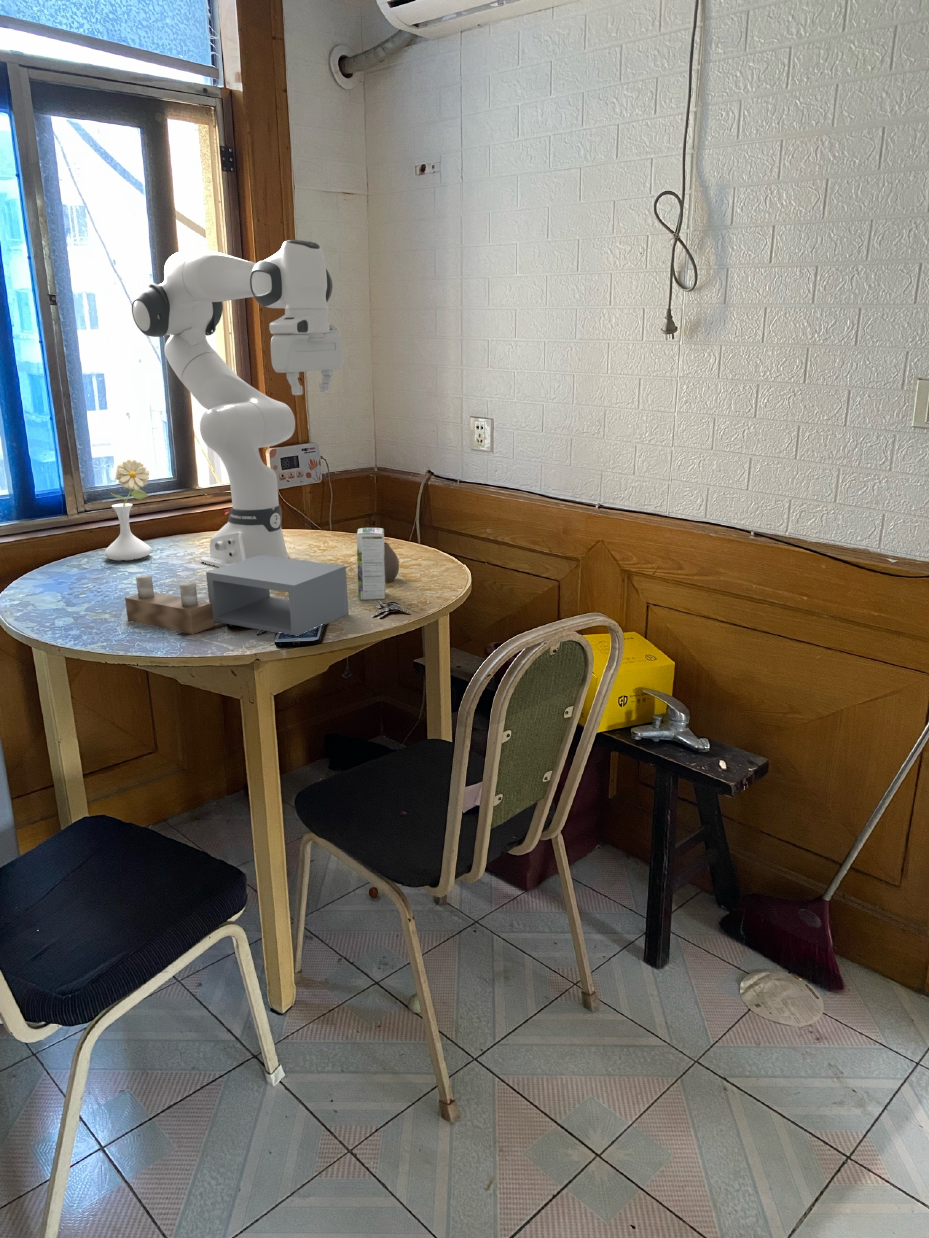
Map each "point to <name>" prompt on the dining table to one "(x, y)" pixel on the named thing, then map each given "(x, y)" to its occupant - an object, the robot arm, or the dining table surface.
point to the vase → (390, 563)
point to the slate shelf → (247, 585)
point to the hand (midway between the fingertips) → (311, 393)
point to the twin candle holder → (169, 608)
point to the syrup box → (371, 563)
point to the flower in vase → (127, 543)
